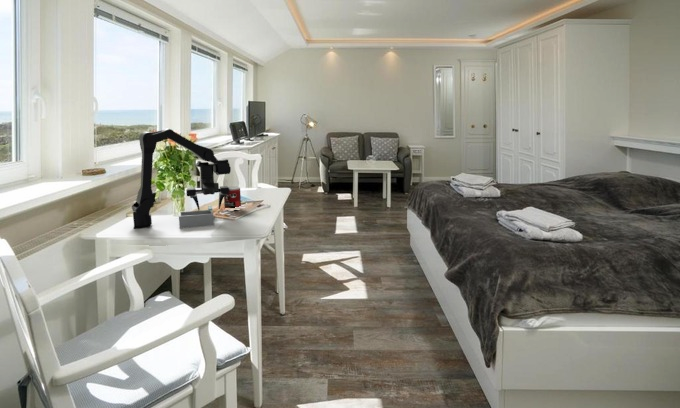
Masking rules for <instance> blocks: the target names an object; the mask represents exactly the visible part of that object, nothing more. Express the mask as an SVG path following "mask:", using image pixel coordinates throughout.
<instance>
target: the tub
mask: <svg viewBox="0 0 680 408" xmlns="http://www.w3.org/2000/svg"><path fill="white" fill-rule="evenodd" d="M214 219H215V215H214V212H213V209H212V210H208V209H204V210H203V209H202V210H201V209H200V210H190V211H189V210H188V211H187V210H186V211H178V223H179V224H178V225H179V229H186V228H188V229H189V228H197V227H211V226H215V220H214Z"/></svg>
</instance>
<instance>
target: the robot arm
mask: <svg viewBox="0 0 680 408" xmlns="http://www.w3.org/2000/svg"><path fill="white" fill-rule="evenodd" d="M138 139H139V146H140V151H141V154H142V155H141V168H140V169H141V171H140V187H139V189H138V192H137V196H136V201H135V202H134V203H133V204H132V205H131V209H132V211H133V212H132V217H133V229H141V228H144V229H145V228H151V226H152V224H153V223H152V222H153V221H152V214H151V213H150V211H151V209H152V208H153V207H154V206H155V203H156V202H157V200H156V196H157V192H155V191H154V190H153V189H152V178H153V163H154V161H153V158H154V152H155V150H156V147H157V145H158V143H159V142H162V141H165V140H170V141H172V142H173V143H175V144H177V145H179V146H180V147H182V148H184V149H187V150H189V151H190V152H191V153H192V154H193V155H194V156H196V157H197V158H198V159H199V160H198V161H197V162H196V164H195V165H194V166H195V167H197V168H199V170H200V172H199V175H200V187H201V189H197V188H196V187H190V188H187V189H186V197H189V198H191V199H193V201H194V203H195V204H196V208H197V209H198V210H197V211H200V210H201V209H200V204H199V199H198V194H203V195H204V196H208V195H215V193H216V194H218V209H219V210H220V209H221V206H222V202H223V201H224V196H226V195H227V194H230V190H229V187H230V186H228V185H225V186H224V185H222V186H219V182H215V179H214V178H215V177H214V174H216V175H217V176H221V175H230V174H231V172H232V171H231V170H232V169H231V166H230V163H229V159H217V157H216V156H215V153H214V151H213V149H211V148H208V147H206V146H203V145H200V144H197V143H195V142H193V141H192V140H189V139H188V138H186V137H184V136H183V135H180V134H179V133H177V132H175V131H174V130H173V129H170V128H165V129H162V130H156V131H153V132H151V131H150V132H149V131H143V132H141V133H140V134H139V137H138ZM200 160H201V161H200ZM202 161H203V162H202Z"/></svg>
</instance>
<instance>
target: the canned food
mask: <svg viewBox="0 0 680 408" xmlns="http://www.w3.org/2000/svg"><path fill="white" fill-rule="evenodd" d="M228 187H229V190H230V194H227V195H226V196H224V198H223V204H224V206H223V207H224V209H225V208H235V207H239V206H241V207H242V201H241V200H242V199H241V187H239V186H228Z"/></svg>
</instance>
